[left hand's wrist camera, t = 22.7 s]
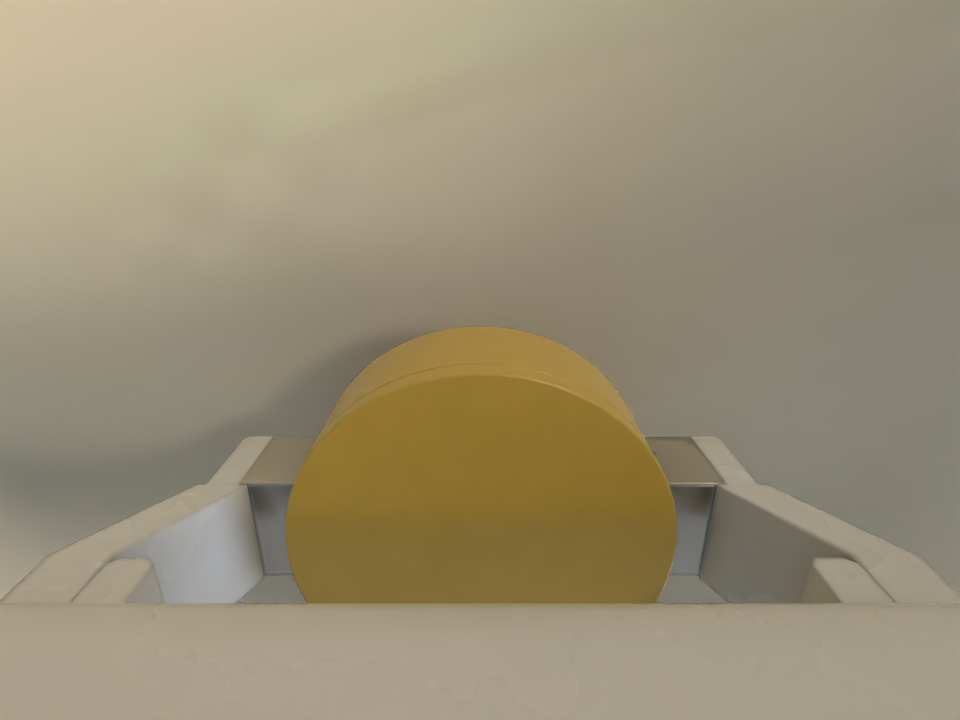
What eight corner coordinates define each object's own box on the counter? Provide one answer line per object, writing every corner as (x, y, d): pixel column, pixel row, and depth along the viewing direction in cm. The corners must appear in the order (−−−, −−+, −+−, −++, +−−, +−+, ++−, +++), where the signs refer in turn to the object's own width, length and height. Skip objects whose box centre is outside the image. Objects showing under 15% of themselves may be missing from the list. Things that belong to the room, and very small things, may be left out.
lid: (327, 589, 11) (296, 680, 9) (313, 313, 9) (268, 359, 7) (613, 604, 11) (639, 697, 9) (670, 336, 9) (719, 387, 7)
